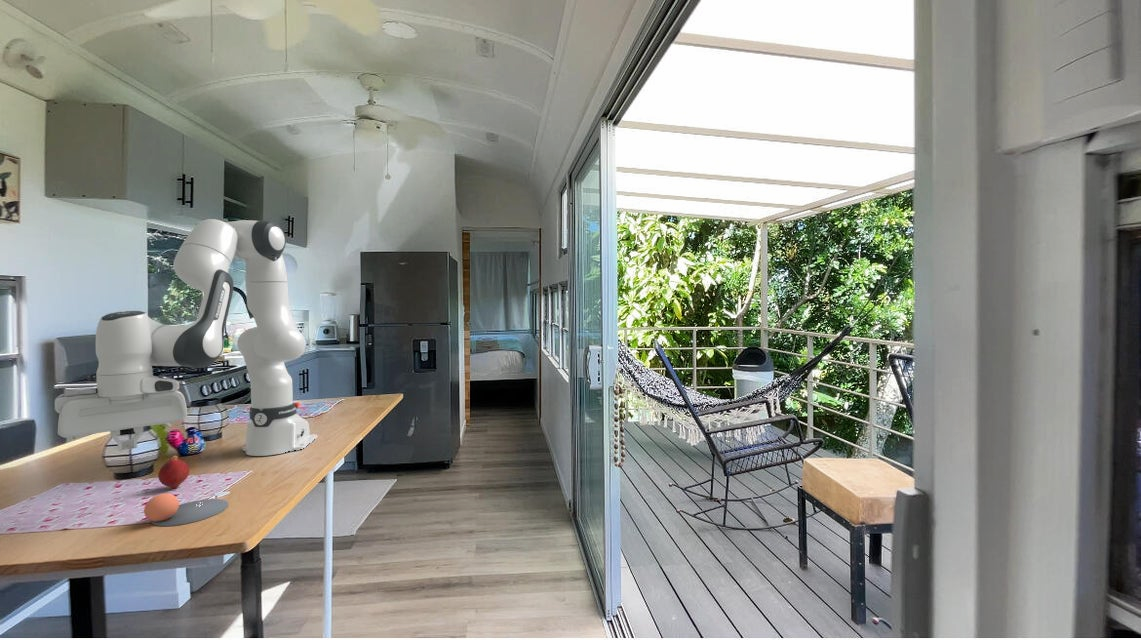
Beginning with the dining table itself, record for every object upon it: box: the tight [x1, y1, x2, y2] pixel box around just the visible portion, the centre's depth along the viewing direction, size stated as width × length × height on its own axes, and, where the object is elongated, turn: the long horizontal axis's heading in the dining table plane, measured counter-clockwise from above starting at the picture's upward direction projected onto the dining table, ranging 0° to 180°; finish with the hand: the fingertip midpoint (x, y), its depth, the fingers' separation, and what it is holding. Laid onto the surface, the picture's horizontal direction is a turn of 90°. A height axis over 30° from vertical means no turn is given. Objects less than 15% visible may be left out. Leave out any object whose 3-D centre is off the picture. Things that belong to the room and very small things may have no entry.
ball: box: [143, 493, 180, 522], centre depth 97 cm, size 6×6×6 cm
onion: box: [158, 455, 190, 489], centre depth 115 cm, size 6×6×8 cm
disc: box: [151, 498, 229, 527], centre depth 101 cm, size 13×13×1 cm
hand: (127, 448), depth 101 cm, fingers closed
